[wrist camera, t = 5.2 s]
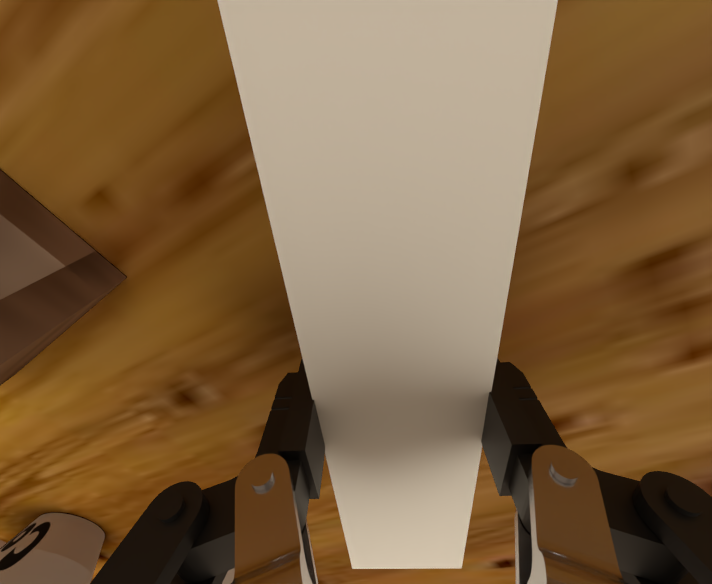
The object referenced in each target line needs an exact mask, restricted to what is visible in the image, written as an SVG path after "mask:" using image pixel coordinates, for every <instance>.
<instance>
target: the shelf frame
mask: <svg viewBox="0 0 712 584" xmlns="http://www.w3.org/2000/svg"><path fill="white" fill-rule="evenodd" d="M126 278H127V277H126V276H125V275H123V274H122V273H121V272H120V271H119V270H117V269H116V268H115V267H114V266H113V265H112V264H110V263H109V262H108V261H107V260H106V259H104V258H103V257H102V256H101V255H100V254H99V253H97V252H96V251H95V250H94V249H93V248H92V247H90V246H89V245H88V244H87V243H86V242H84V241H83V240H82V239H81V238H80V237H79V236H77V235H76V234H75V233H74V232H73V231H71V230H70V229H69V228H68V227H67V226H66V225H64V224H63V223H62V222H61V221H60V220H59V219H57V218H56V217H55V216H54V215H53V214H51V213H50V212H49V211H48V210H47V209H46V208H44V207H43V206H42V205H41V204H40V203H39V202H37V201H36V200H35V199H34V198H33V197H31V196H30V195H29V194H28V193H27V192H26V191H24V190H23V189H22V188H21V187H20V186H18V185H17V184H16V183H15V182H14V181H13V180H11V179H10V178H9V177H8V176H7V175H6V174H4V173H3V172H2V171H1V170H0V385H1V384H3V383H4V382H5V381H7V380H8V379H9V378H11V377H12V376H13V375H15V374H16V373H17V372H18V371H19V370H21V369H22V368H23V367H24V366H25V365H26V364H28V363H29V362H30V361H31V360H32V359H33V358H34V357H36V356H37V355H38V354H39V353H40V352H41V351H43V350H44V349H45V348H46V347H47V346H48V345H49V344H51V343H52V342H53V341H54V340H55V339H56V338H58V337H59V336H60V335H61V334H62V333H63V332H64V331H66V330H67V329H68V328H69V327H70V326H71V325H73V324H74V323H75V322H76V321H77V320H78V319H79V318H81V317H82V316H83V315H84V314H85V313H86V312H88V311H89V310H90V309H91V308H92V307H93V306H94V305H96V304H97V303H98V302H99V301H100V300H101V299H103V298H104V297H105V296H106V295H107V294H108V293H109V292H111V291H112V290H113V289H114V288H115V287H116V286H118V285H119V284H120V283H121V282H122V281H123V280H124V279H126Z"/></svg>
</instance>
